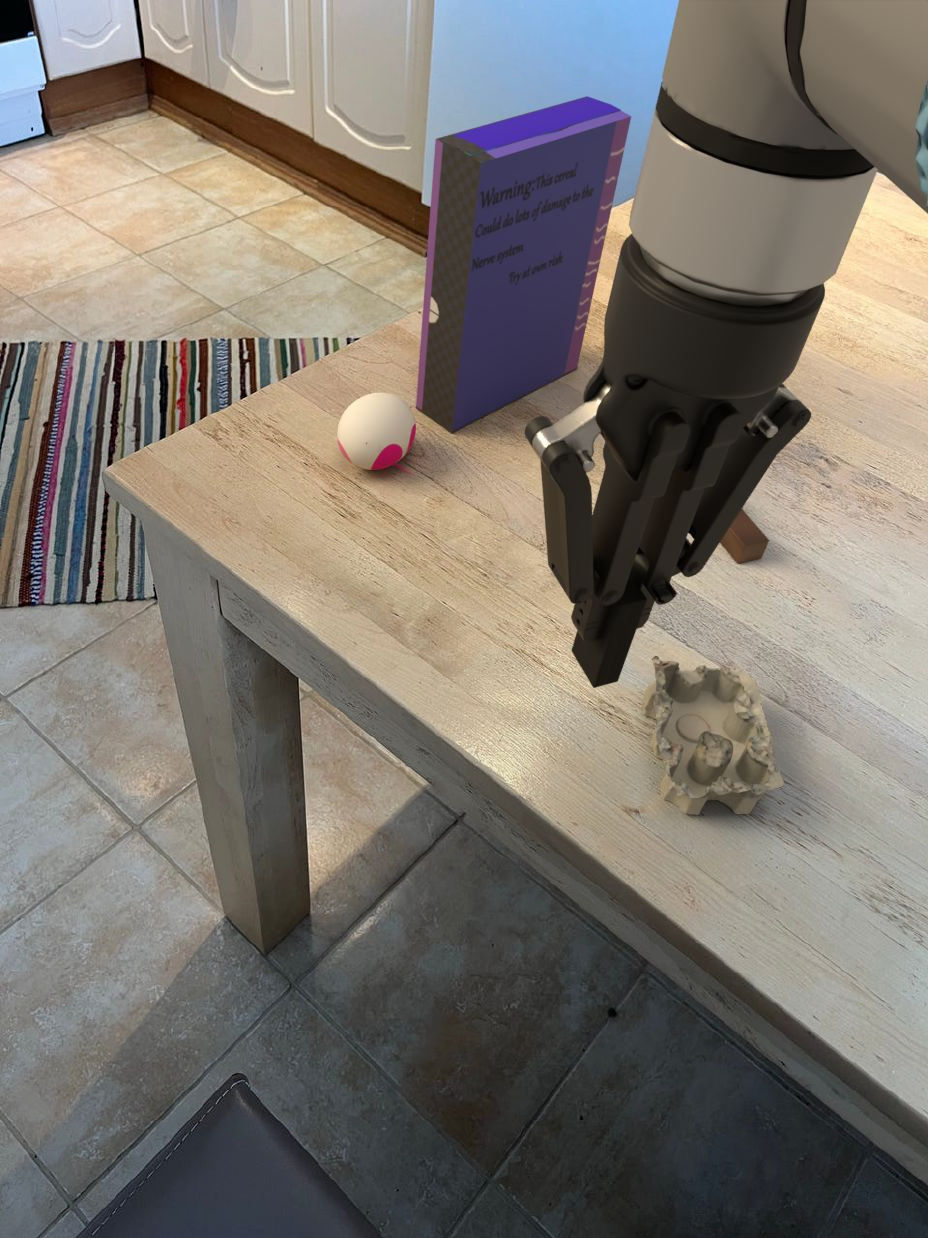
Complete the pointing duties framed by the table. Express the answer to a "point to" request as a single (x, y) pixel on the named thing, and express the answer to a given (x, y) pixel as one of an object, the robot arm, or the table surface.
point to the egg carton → (710, 737)
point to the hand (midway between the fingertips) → (594, 665)
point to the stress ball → (376, 431)
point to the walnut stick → (744, 539)
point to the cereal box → (514, 255)
